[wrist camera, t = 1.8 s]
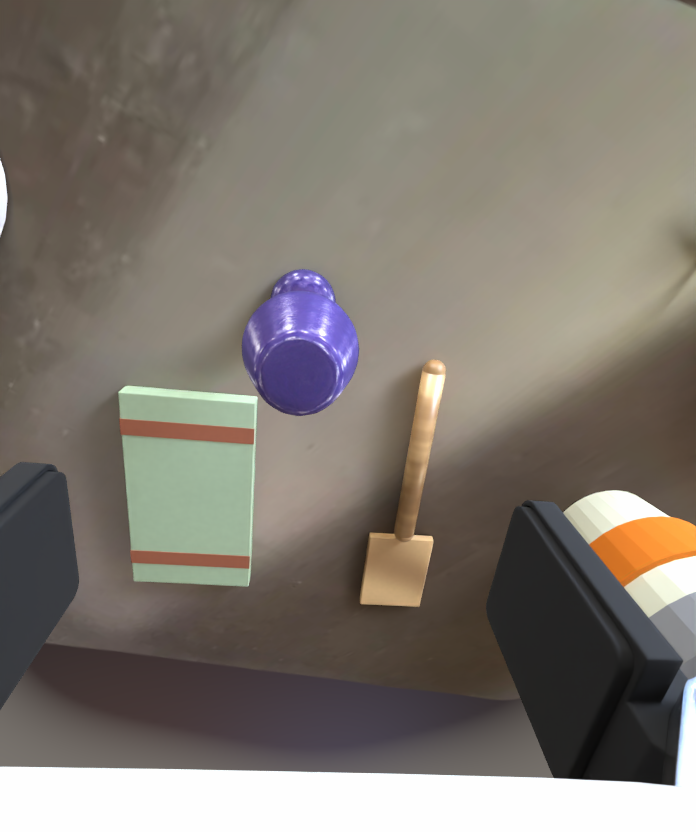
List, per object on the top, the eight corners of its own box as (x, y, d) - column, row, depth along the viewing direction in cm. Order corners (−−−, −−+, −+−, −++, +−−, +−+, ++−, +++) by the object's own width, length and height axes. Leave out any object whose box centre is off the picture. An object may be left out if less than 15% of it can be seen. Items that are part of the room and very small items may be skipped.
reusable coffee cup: (496, 549, 40) (590, 727, 26) (611, 441, 36) (790, 580, 22) (591, 614, 43) (719, 801, 29) (704, 521, 40) (909, 684, 26)
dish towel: (139, 569, 38) (132, 582, 37) (125, 385, 32) (117, 392, 31) (250, 574, 39) (248, 587, 38) (258, 396, 33) (255, 403, 32)
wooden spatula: (417, 600, 41) (421, 615, 40) (359, 598, 41) (360, 612, 39) (469, 360, 33) (476, 366, 32) (396, 353, 33) (400, 359, 31)
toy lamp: (286, 249, 30) (250, 284, 14) (354, 278, 30) (390, 340, 15) (261, 320, 31) (205, 420, 16) (327, 346, 32) (334, 464, 17)
